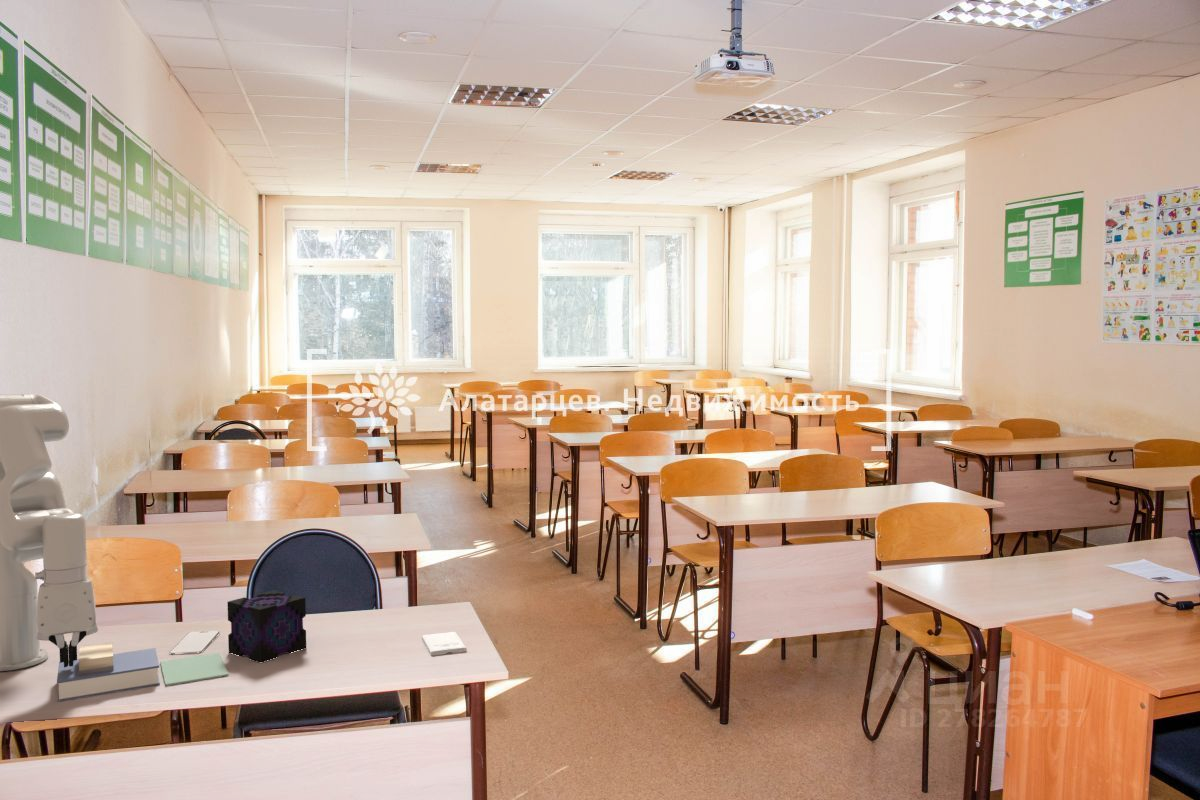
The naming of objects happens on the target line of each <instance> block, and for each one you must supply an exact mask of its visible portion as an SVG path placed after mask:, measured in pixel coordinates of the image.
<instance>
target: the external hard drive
mask: <svg viewBox="0 0 1200 800" xmlns="http://www.w3.org/2000/svg"><path fill="white" fill-rule="evenodd" d="M422 640H423V641H422ZM421 641H422V643H423V644H424V646H425V647H427V648H426V649H428V650H427V651H428V653H429V655H430V656H431V655H433V656H438V655H439V656H440V655H446V654H457V653H465V652H467V647H466V645H465V644H464V643H463V641H462V639H461V638H460V636H459V635H458V633H457V632H456V631H449V632H448V631H447V632H439V633H432V634H423V635H422V636H421Z"/></svg>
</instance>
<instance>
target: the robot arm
mask: <svg viewBox="0 0 1200 800" xmlns="http://www.w3.org/2000/svg"><path fill="white" fill-rule="evenodd" d="M69 429H70V423H69V419H68V415H67V412H65V410H64V408H63V407H62V406H61V405H60V404H59V403H57V402H55V401H54V400H51V399H49V398H48V397H46V396H44V395H42V394H38V393H6V394H5V393H4V394H1V393H0V672H7V671H9V672H10V671H16V670H21V669H25V668H29V667H32V666H35V665H38V664H41V663H42V662H44V661H47V659H48V658H49V652H48V650H47V649H46V650H45V649H43V648H40V641H43V642H44V641H46V642H47V641H49V642H51V643H52V644H54V645H55V646H56V647H57V648H59V662H60V663H62V662H64V667H67V666H68V663H69V666H70V667H71V666H73V663H74V661H76V660H77V659H78V645H79V643H80V642H81V641H82V640H83V639H85V637H87V636H90V635H93V634H95V633H97V632H98V631H99V627H98V624H97V609H96V607H97V606H96V596H95V591H94V584H93V581H92V579H91V577H90V578H89V577H88V564H87V563H88V559H87V555H88V554H87V531H86V530H87V526H86V518H85V517H84V516H83V515H82V514H81V513H76V512H74V511H73V510H72V509H70V508H67V505H66V500H65V497H64V492H63V488H62V485H61V482H60V481H59V479H58V478H57V476H56V475H55V474H54V473H53V472H51V469H52V465H53V464H52V461H51V458H50V456H49V452H48V449H47V447H46V443H45V442H47V443H48V442H58V441H59V442H60V441H63V440H64V439H65V438H66V437H67V435H69ZM35 560H36V561H38V560H43V561H42V562H43V563H42V565H43V569H42V570H41V571H38V572H35V574H34V573H32V572H31V571H30V570H29V569H28V568H27V567H26V566H25V563H27V562H31V561H35ZM37 580H40V581H43V583H41V584H40V585H39V586H38V581H37ZM38 587H39V588H38ZM65 634H71V640H69V644H67V643H68V642H67V641H66V640H65Z"/></svg>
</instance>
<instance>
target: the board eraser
mask: <svg viewBox="0 0 1200 800" xmlns="http://www.w3.org/2000/svg"><path fill="white" fill-rule="evenodd" d="M113 644H114V643H113V642H107V643H98V644H92V645H85V646H79V651H78V653H79V654H78V656H79V657H78V659H79V676H81V675H88V674H94V673H101V672H107V671H114V665H113V654H114V647H113Z"/></svg>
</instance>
